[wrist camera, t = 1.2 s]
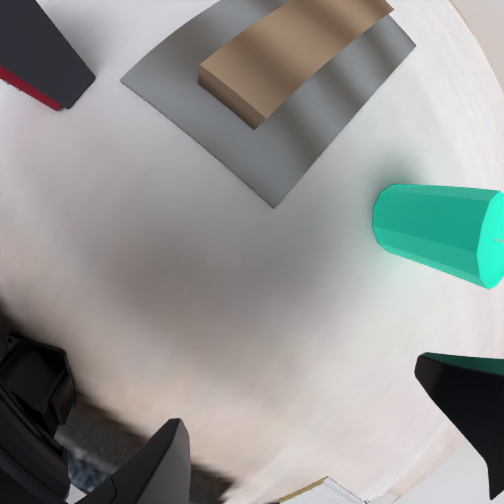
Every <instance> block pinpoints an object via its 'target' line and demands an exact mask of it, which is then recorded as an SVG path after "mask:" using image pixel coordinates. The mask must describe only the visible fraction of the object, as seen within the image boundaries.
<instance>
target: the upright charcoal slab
mask: <svg viewBox="0 0 504 504" xmlns="http://www.w3.org/2000/svg"><path fill="white" fill-rule="evenodd" d="M0 79H2V80H3V81H4V82H5V83H6V84H7V85H9V84H10V85H12V86H14V87H15V88H16V89H17V90H18V91H20V90H21V91H23V92H24V93H26V94H28V95H30V96H31V97H33V98H35V99H37V100H38V101H40V102H42V103H43V104H45V105H47V106H49V107H50V108H52V109H54V110H56V111H58V110H59V108H60V107H61V106H63V107H65V108H66V109H69V108H70V107H71V105H72V104H73V103H74V102H75V101H76V99H77V98H78V97H79V96H80V95H81V93H82V92H83V91H84V90H85V89H86V88H87V87H88V85H89V84H90V83H91V82H92V81H93V80H94V79H95V76H94V74H93V73H92V72H91V71H90V69H89V68H88V67H87V66H86V64H85V63H84V62H83V61H82V59H81V58H80V57H79V55H78V54H77V53H76V52H75V50H74V49H73V48H72V47H71V45H70V44H69V43H68V41H67V40H66V39H65V38H64V36H63V35H62V34H61V33H60V31H59V30H58V29H57V27H56V26H55V25H54V24H53V22H52V21H51V20H50V18H49V17H48V16H47V15H46V13H45V12H44V11H43V9H42V8H41V7H40V5H39V4H38V3H37V1H36V0H0Z"/></svg>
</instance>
